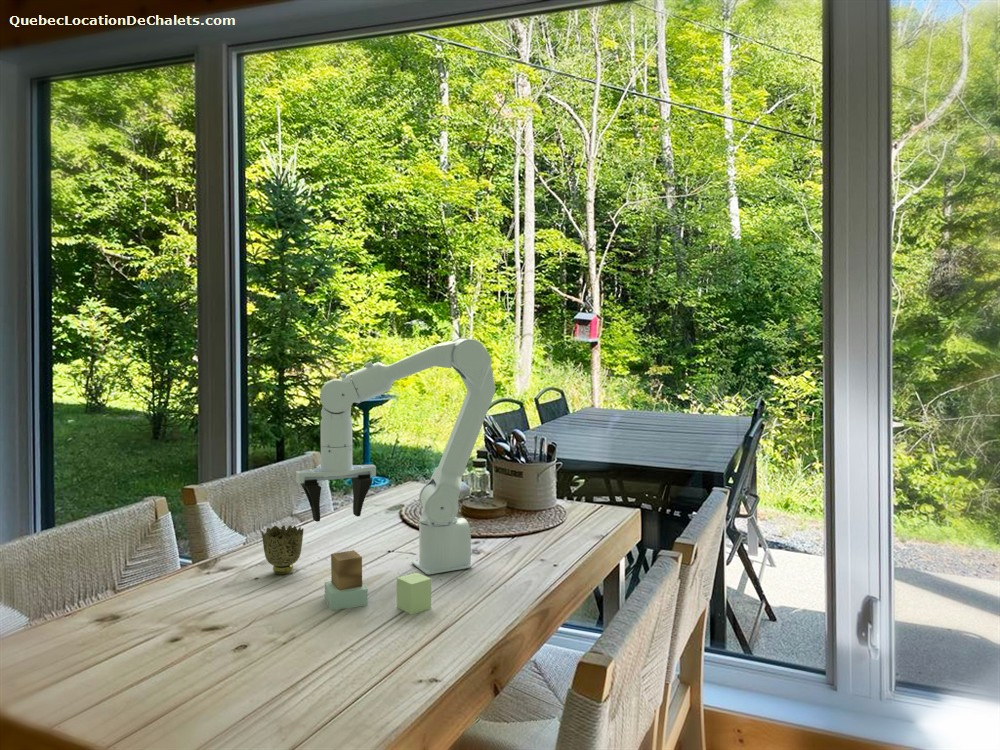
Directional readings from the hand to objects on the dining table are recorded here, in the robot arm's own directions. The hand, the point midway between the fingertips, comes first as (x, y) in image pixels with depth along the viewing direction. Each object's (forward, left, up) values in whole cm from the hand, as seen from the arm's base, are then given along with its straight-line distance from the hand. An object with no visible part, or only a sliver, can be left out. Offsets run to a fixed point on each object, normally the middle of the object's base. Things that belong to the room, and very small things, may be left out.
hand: (336, 517), depth 141 cm
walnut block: (+3, +14, -8) cm, 16 cm away
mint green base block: (+3, +14, -11) cm, 18 cm away
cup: (+9, -5, -11) cm, 15 cm away
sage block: (-6, +22, -10) cm, 25 cm away
